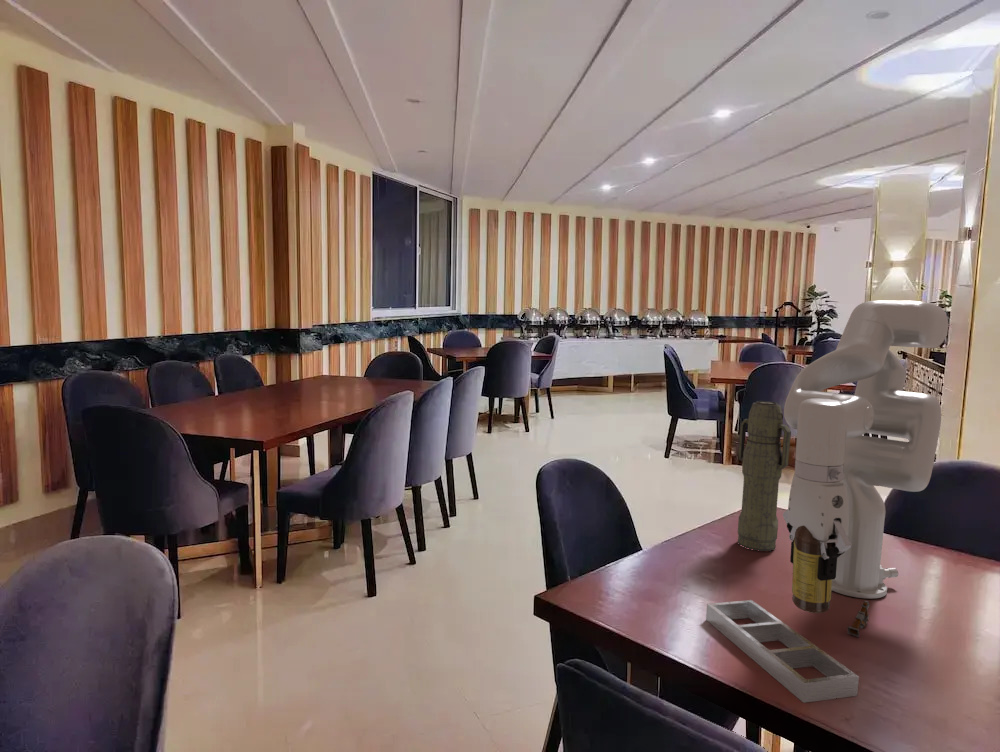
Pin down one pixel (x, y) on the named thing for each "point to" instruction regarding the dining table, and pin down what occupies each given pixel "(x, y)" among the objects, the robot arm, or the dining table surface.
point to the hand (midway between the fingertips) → (812, 569)
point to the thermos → (761, 474)
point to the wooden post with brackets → (860, 620)
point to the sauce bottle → (809, 574)
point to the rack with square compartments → (782, 651)
